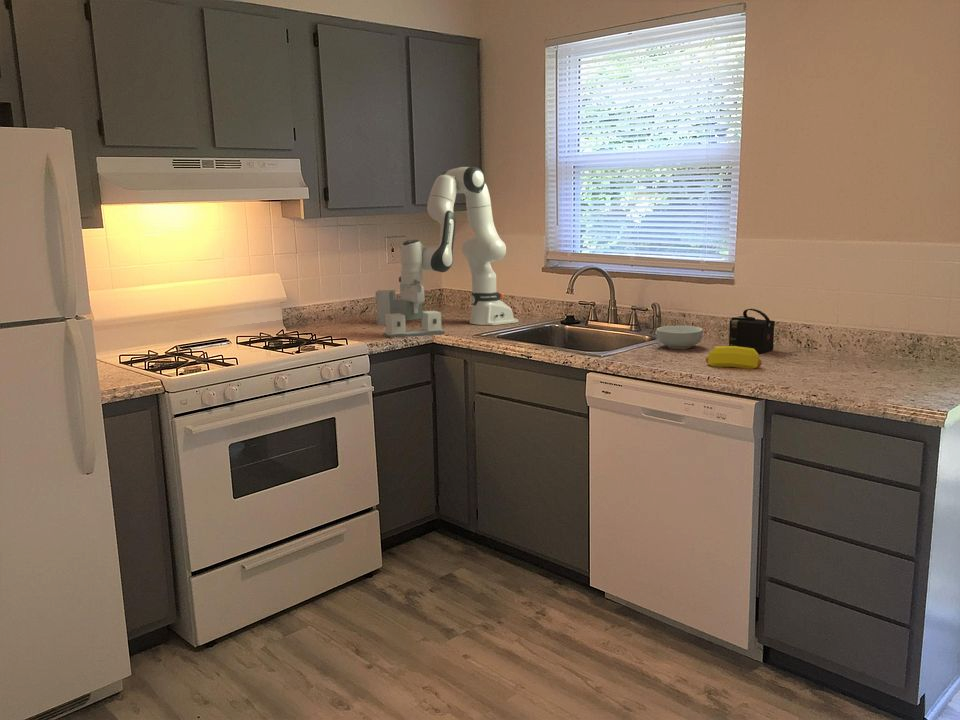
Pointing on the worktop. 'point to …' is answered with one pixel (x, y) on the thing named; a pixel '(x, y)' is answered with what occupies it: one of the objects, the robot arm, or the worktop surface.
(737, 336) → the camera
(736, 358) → the yellow rounded bar
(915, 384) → the worktop surface
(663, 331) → the cereal bowl
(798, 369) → the worktop surface
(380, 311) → the circuit breaker
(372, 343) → the worktop surface
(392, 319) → the rail base
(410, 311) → the block
